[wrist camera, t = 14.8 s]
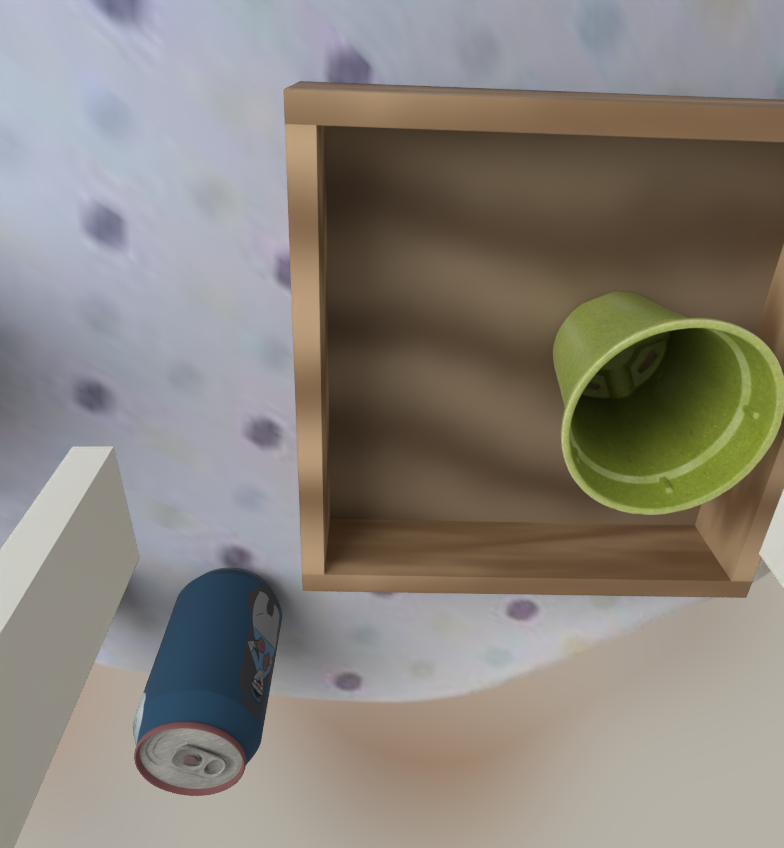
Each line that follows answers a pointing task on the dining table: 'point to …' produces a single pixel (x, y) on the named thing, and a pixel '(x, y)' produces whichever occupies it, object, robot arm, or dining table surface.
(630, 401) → the plant pot
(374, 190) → the wooden tray
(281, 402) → the dining table surface
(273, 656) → the soda can
